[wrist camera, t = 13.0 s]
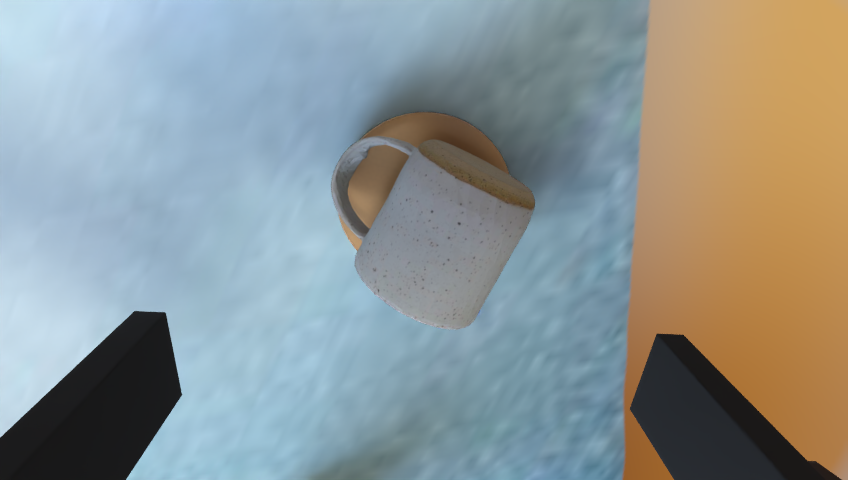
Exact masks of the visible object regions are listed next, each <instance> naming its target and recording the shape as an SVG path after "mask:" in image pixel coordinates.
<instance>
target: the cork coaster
mask: <svg viewBox="0 0 848 480" xmlns="http://www.w3.org/2000/svg"><path fill="white" fill-rule="evenodd" d="M373 136H384V137H391V138H395V139H398V140H401V141H405V142H408V143H410V144H411V145H413V146H414V147H416V148H417V147H418V146H419V145H420V144H421V143H423V142H424V141H428V140H431V139H436V140H440V141H443V142H446V143H449V144H451V145H453V146H456V147H458V148H460V149H462V150H464V151H466V152H468V153H470V154H472V155H474V156H476V157H478V158H480V159H482V160H484V161H486V162H488V163H490V164H491V165H493V166H495V167H497V168H498V169H500V170H502V171H504V172H505V173H507V174H509V172H508V169H507V166H506V163H505V161H504V159H503V157H502V155H501V154H500V152H499V151H498V149H497V148H496V146H495V145H494V144H493V143H492V142H491V141H490V140H489V138H488V137H487V136H486V135H484V134H483V133H482V132H481V131H480V130H478V129H477V128H476V127H474V126H473V125H471V124H469V123H468V122H466V121H463V120H461V119H459V118H457V117H454V116H450V115H447V114H443V113H436V112H415V113H407V114H403V115H400V116H396V117H393V118H391V119H389V120H386V121H384V122H382V123H381V124H379V125H377V126H376V127H374V128H373V129H371V130H370V131H369V132H368V133H366V134H365V135H364V136H363V137H362V138H361V139H364V138H368V137H373ZM361 139H360V140H361ZM360 140H359V141H360ZM408 159H409V156H408V155H407V154H406V153H405V152H402V151H401V150H399V149H397V148H394V147H391V146H388V145H386V144H385V145H378V146H374V147H372V148H370V149H369V150H368V155H367V158H365V159H363V160H362V161H361V163H360V164H359V165H358V167H357V169H356V170H355V172H354V174H353V176H352V177H351V179H350V181H349V187H348V196H349V201H350V203H351V206H352V208H353V210H354V211H355V213H356V214H357V215H358V217H359V218H360V219H361V221H362V222H363V223H364V224H365V225H366V226H367V227H368V228H369V229H370V228H371V226H372V224H373V222H374V220H375V218H376V217H377V215H378V213H379V212H380V210H381V208H382V207H383V205H384V203H385V202H386V200H387V198H388V196H389V194H390V192H391V190H392V188H393V186H394V184H395V182H396V180H397V178H398V176H399V174H400V172H401V170H402V168H403V167H404V165H405V163H406V161H407V160H408ZM338 214H339V213H338ZM339 218H340V222H341V224H342V227H343V230H344V232H345V234H346V235H347V237H348V239H349V241H350V242H351V244H352V245H353V246H354V248H355V249H356V250H357V251H358V249H359V248H360V246H361V244H362V240H361V239H359V238H358V237H357V236H356V235H355V234H354V233H353V232H352V231H351V230H350V229H349V227H348V226H347V225H346V224H345V223H344V221H343V220H342V218H341V217H340V215H339Z"/></svg>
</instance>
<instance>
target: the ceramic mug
mask: <svg viewBox="0 0 848 480" xmlns="http://www.w3.org/2000/svg"><path fill="white" fill-rule="evenodd" d="M385 144H386V145H388V146H391V147H394V148H397V149H399V150H401V151H402V152H405V153H406V154H407V155H408V156H409V159H408V160H407V161H406V163H405V165H404V167H403V168H402V170H401V172H400V174H399V176H398V178H397V180H396V182H395V184H394V186H393V188H392V190H391V192H390V194H389V196H388V198H387V200H386V202H385V203H384V205H383V207H382V208H381V210H380V212H379V213H378V215H377V217H376V218H375V220H374V222H373V224H372V226H371V228H370V229H369V228H368V227H367V226H366V225H365V224H364V223H363V222H362V221H361V219H360V218H359V217H358V215H357V214H356V213H355V211H354V210H353V208H352V206H351V203H350V201H349V196H348V187H349V181H350V179H351V177H352V176H353V174H354V172H355V170H356V169H357V167H358V165H359V164H360V163H361V161H362V160H363V159H365V158H367V155H368V150H369V149H370V148H372V147H374V146H378V145H385ZM331 192H332V197H333V201H334V204H335V207H336V209H337V211H338V213H339V215H340V217H341V218H342V220H343V221H344V223H345V224H346V225H347V226H348V227H349V229H350V230H351V231H352V232H353V233H354V234H355V235H356V236H357V237H358V238H359V239H361V240H362V244H361V246H360V248H359V249H358V251H357V253H356V256H355V268H356V270H357V273H358V274H359V276H360V278H361V280H362V281H363V282H364V283H365V284H366V286H367V287H368V288H369V289H370V290H371V291H372V292H373V293H374V294H375V295H376V296H378V297H379V298H380V299H381V300H383V301H384V302H385V303H386V304H388V305H389V306H391V307H392V308H394V309H395V310H397V311H398V312H400V313H402V314H404V315H406V316H408V317H410V318H412V319H414V320H416V321H419V322H421V323H423V324H427V325H431V326H434V327H438V328H443V329H450V330H451V329H461V328H465V327H467V326H468V325H470V324H471V323H472V322H473V321H474V320H475V318H476V317H477V315H478V313H479V311H480V309H481V307H482V306H483V304H484V302H485V300H486V298H487V297H488V295H489V293H490V291H491V289H492V288H493V286H494V284H495V283H496V281H497V279H498V277H499V276H500V274H501V272H502V270H503V268H504V266H505V265H506V263H507V261H508V259H509V258H510V256H511V254H512V252H513V250H514V249H515V247H516V245H517V244H518V242H519V240H520V239H521V237H522V235H523V233H524V232H525V230H526V228H527V226H528V224H529V221H530V218H531V215H532V213H533V210H534V206H535V199H534V196H533V194H532V191H531V190H530V189H529V188H528V187H527V186H525V185H524V184H523V183H521V182H520V181H518V180H517V179H515V178H514V177H512V176H510V175H509V174H507V173H505V172H504V171H502V170H500V169H498V168H497V167H495V166H493V165H491V164H490V163H488V162H486V161H484V160H482V159H480V158H478V157H476V156H474V155H472V154H470V153H468V152H466V151H464V150H462V149H460V148H458V147H456V146H453V145H451V144H449V143H446V142H443V141H440V140H436V139H431V140H428V141H424V142H423V143H421V144H420V145H419V146H418V147H417V148H416V147H414V146H413V145H411V144H410V143H408V142H405V141H401V140H398V139H395V138H391V137H384V136H373V137H368V138H364V139H361V140H360V141H358V142H356V143H354V144H352V145H351V146H350V147H349V148H348V149H347V150H346V151H345V152H344V153H343V155H342V156H341V158H340V160H339V161H338V163H337V165H336V167H335V170H334V173H333V176H332V181H331Z"/></svg>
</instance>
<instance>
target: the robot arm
mask: <svg viewBox="0 0 848 480" xmlns="http://www.w3.org/2000/svg"><path fill="white" fill-rule="evenodd" d="M181 396H182V393H181V388H180V383H179V378H178V373H177V368H176V363H175V357H174V352H173V347H172V342H171V337H170V332H169V327H168V322H167V317H166V313H165V312H141V311H134V312H133V313H132V314H131V315H130V316H129V317H128V318H127V319H126V320H125V321H124V322H123V323H122V324H120V325H119V326H118V327H117V328H116V329H115V330H114V331H113V332H112V333H111V334H110V335H109V336H108V337H107V338H106V339H105V340H103V341H102V342H101V343H100V344H99V345H98V346H97V347H96V348H95V349H94V350H93V351H92V352H91V353H90V354H89V355H88V356H86V357H85V358H84V359H83V360H82V361H81V362H80V363H79V364H78V365H77V366H76V367H75V368H74V369H73V370H72V371H71V372H69V373H68V374H67V375H66V376H65V377H64V378H63V379H62V380H61V381H60V382H59V383H58V384H57V385H56V386H55V387H54V388H53V389H51V390H50V391H49V392H48V393H47V394H46V395H45V396H44V397H43V398H42V399H41V400H40V401H39V402H38V403H37V404H36V405H34V406H33V407H32V408H31V409H30V410H29V411H28V412H27V413H26V414H25V415H24V416H23V417H22V418H21V419H20V420H19V421H17V422H16V423H15V424H14V425H13V426H12V427H11V428H10V429H9V430H8V431H7V432H6V433H5V434H4V435H3V436H2V437H0V480H126V479H127V477H128V476H129V474H130V473H131V471H132V470H133V468H134V467H135V465H136V464H137V462H138V461H139V459H140V458H141V456H142V455H143V453H144V451H145V450H146V448H147V447H148V445H149V444H150V442H151V441H152V439H153V438H154V436H155V435H156V433H157V432H158V430H159V429H160V427H161V426H162V424H163V423H164V421H165V420H166V418H167V417H168V415H169V414H170V412H171V411H172V409H173V408H174V406H175V405H176V403H177V402H178V400H179V399H180V397H181ZM630 410H631V412H632V413H633V415H634V416H635V418H636V419H637V421H638V423H639V424H640V426H641V428H642V429H643V431H644V432H645V434H646V435H647V437H648V439H649V440H650V442H651V443H652V445H653V447H654V448H655V450H656V451H657V453H658V455H659V456H660V458H661V459H662V461H663V463H664V464H665V466H666V467H667V469H668V471H669V472H670V474H671V475H672V477H673V478H674V480H841V479H840V478H839V477H837V476H836V475H834V474H833V473H831V472H830V471H829V470H827V469H826V468H824V467H823V466H822V465H820V464H819V463H817V462H816V461H807V460H806V459H805V458H804V457H803V456H802V455H801V454H800V453H799V452H798V451H797V450H796V449H795V448H794V447H793V446H792V445H791V444H790V443H789V442H788V441H787V440H786V439H785V438H784V437H783V436H782V435H781V434H780V433H779V432H778V431H777V430H776V429H775V428H774V427H773V426H772V425H771V424H770V422H769V421H768V420H767V419H766V418H765V417H764V416H763V415H762V414H761V413H760V412H759V411H757V409H756V408H755V407H754V406H753V405H752V404H751V403H750V402H749V401H748V400H747V399H746V398H745V397H744V396H743V395H742V394H741V393H740V392H739V391H738V390H737V389H736V388H735V387H734V386H733V385H732V384H731V383H730V382H729V381H728V380H727V379H726V378H725V377H724V376H723V375H722V374H721V373H720V372H719V371H718V370H717V369H716V368H715V367H714V366H713V365H712V364H711V363H710V362H709V361H708V359H706V358H705V356H704V355H703V354H701V352H700V351H699V350H698V349H697V348H696V347H695V346H694V345H693V344H692V343H691V342H690V341H689V340H688V339H687V338H686V337H685V336H684V335H674V334H657V335H656V337H655V340H654V343H653V346H652V349H651V352H650V354H649V357H648V360H647V362H646V365H645V368H644V371H643V374H642V376H641V380H640V382H639V385H638V388H637V390H636V393H635V396H634V399H633V402H632V404H631V407H630Z"/></svg>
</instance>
